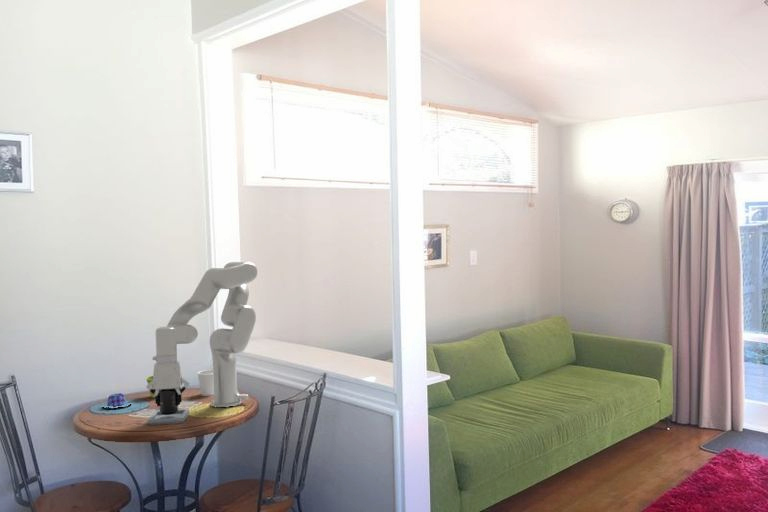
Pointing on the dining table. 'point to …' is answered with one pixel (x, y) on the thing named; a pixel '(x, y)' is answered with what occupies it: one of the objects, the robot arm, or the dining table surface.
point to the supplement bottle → (168, 401)
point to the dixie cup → (206, 382)
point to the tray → (168, 417)
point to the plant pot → (152, 385)
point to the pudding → (116, 400)
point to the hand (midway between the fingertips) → (168, 404)
